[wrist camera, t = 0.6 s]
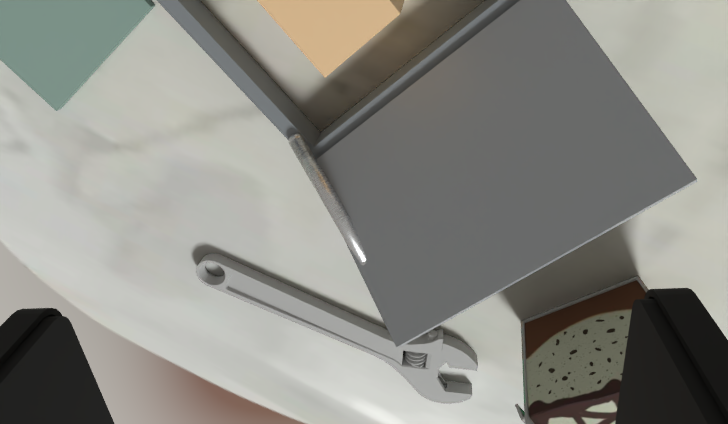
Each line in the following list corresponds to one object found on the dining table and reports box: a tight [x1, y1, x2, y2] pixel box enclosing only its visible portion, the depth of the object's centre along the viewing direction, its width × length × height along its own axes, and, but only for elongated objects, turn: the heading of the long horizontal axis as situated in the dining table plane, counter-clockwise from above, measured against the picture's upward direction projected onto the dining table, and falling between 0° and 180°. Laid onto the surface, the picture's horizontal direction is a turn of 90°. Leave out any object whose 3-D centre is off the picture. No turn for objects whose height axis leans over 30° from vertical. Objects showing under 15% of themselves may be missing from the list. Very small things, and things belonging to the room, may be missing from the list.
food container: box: [515, 276, 648, 424], centre depth 41 cm, size 12×6×10 cm, turn 123°
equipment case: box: [157, 0, 697, 347], centre depth 31 cm, size 18×27×11 cm, turn 41°
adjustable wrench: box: [196, 253, 478, 404], centre depth 47 cm, size 25×6×2 cm, turn 61°
